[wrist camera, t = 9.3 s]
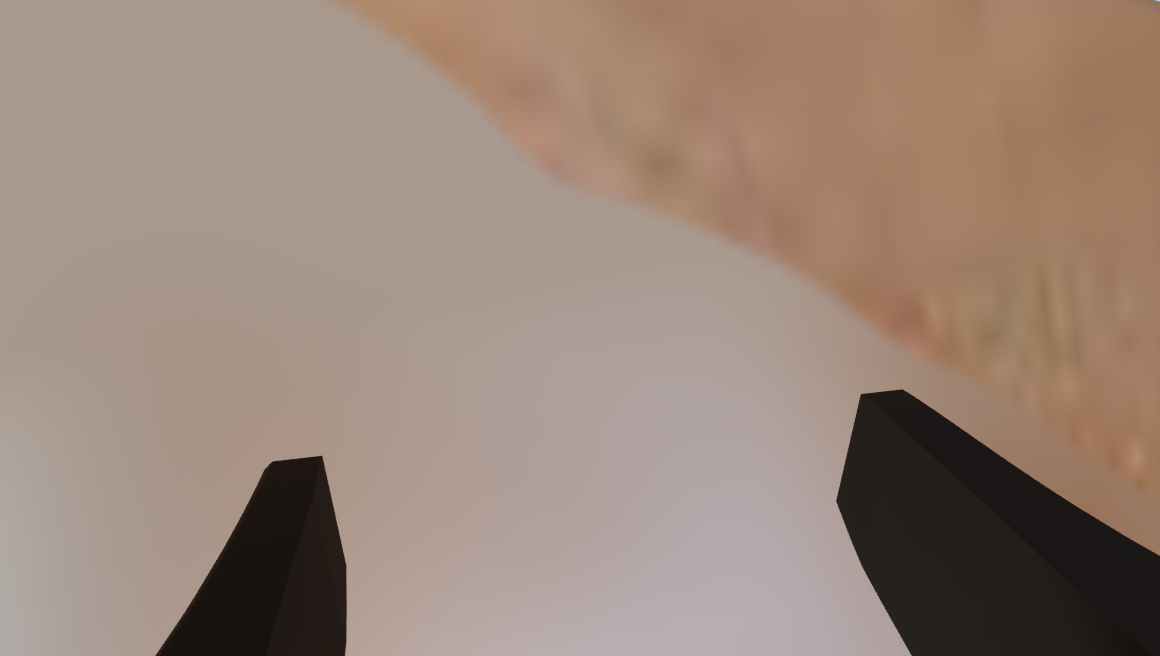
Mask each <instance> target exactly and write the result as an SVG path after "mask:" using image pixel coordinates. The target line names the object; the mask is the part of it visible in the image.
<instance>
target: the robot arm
mask: <svg viewBox="0 0 1160 656" xmlns="http://www.w3.org/2000/svg"><path fill="white" fill-rule="evenodd" d="M1156 1H1159V2H1160V0H1156ZM836 502H837V504H838V507H839V510H840V512H841V515H842V518H843V520H844V523H845V525H846V528H847V531H848V533H849V536H850V538H851V541H852V543H853V546H854V548H855V550H856V553H857V555H858V557H859V560H860V562H861V565H862V567H863V569H864V571H865V573H866V575H867V576H868V578H869V580H870V582H871V584H872V586H873V587H874V589H875V591H876V592H877V595H878V596H879V598H880V600H881V602H882V604H883V605H884V607H885V609H886V611H887V613H888V614H889V616H890V618H891V619H892V621H893V623H894V625H895V627H896V629H897V630H898V632H899V634H900V636H901V637H902V639H903V641H904V643H905V645H906V646H907V648H908V650H909V652H910V653H911V655H912V656H1160V556H1159V555H1157V554H1155V553H1154V552H1152V551H1150V550H1148V549H1147V548H1145V547H1143V546H1141V545H1139V544H1137V543H1136V542H1134V541H1133V540H1131V539H1129V538H1127V537H1126V536H1124V535H1122V534H1121V533H1119V532H1117V531H1116V530H1114V529H1113V528H1111V527H1109V526H1108V525H1106V524H1104V523H1103V522H1101V521H1099V520H1098V519H1096V518H1094V517H1093V516H1091V515H1090V514H1088V513H1086V512H1085V511H1083V510H1081V509H1080V508H1078V507H1076V506H1075V505H1073V504H1072V503H1070V502H1069V501H1067V500H1065V499H1064V498H1062V497H1061V496H1059V495H1058V494H1056V493H1055V492H1053V491H1052V490H1050V489H1049V488H1047V487H1045V486H1044V485H1043V484H1041V483H1039V482H1038V481H1036V480H1035V479H1033V478H1032V477H1030V476H1029V475H1028V474H1026V473H1024V472H1023V471H1022V470H1020V469H1019V468H1017V467H1016V466H1014V465H1013V464H1011V463H1010V462H1008V461H1007V460H1005V459H1004V458H1003V457H1001V456H1000V455H998V454H997V453H995V452H994V451H992V450H991V449H989V448H988V447H986V446H985V445H984V444H982V443H981V442H979V441H978V440H977V439H975V438H974V437H972V436H971V435H969V434H968V433H967V432H965V431H964V430H962V429H961V428H959V427H958V426H956V425H955V424H954V423H952V422H951V421H949V420H948V419H946V418H945V417H943V416H942V415H941V414H939V413H938V412H936V411H935V410H933V409H932V408H930V407H929V406H927V405H926V404H924V403H923V402H921V401H920V400H918V399H917V398H915V397H914V396H912V395H910V394H909V393H908V392H906V391H904V390H893V391H884V392H876V393H867V394H861V396H860V400H859V405H858V409H857V414H856V418H855V422H854V427H853V431H852V435H851V440H850V444H849V448H848V452H847V457H846V461H845V465H844V470H843V474H842V478H841V483H840V487H839V491H838V496H837V500H836ZM346 597H347V596H346V563H345V558H344V553H343V549H342V544H341V539H340V535H339V530H338V526H337V521H336V517H335V512H334V507H333V503H332V498H331V494H330V489H329V485H328V480H327V475H326V471H325V466H324V462H323V457H322V456H318V457H309V458H299V459H290V460H282V461H273V462H271V463H270V465H269V466H268V467H267V468H266V469H265V470H264V472H263V474H262V476H261V478H260V481H259V483H258V485H257V487H256V489H255V491H254V493H253V495H252V497H251V499H250V501H249V503H248V504H247V506H246V508H245V510H244V512H243V514H242V516H241V518H240V520H239V522H238V523H237V525H236V527H235V529H234V531H233V532H232V534H231V536H230V538H229V540H228V541H227V543H226V545H225V547H224V549H223V550H222V552H221V554H220V555H219V557H218V559H217V560H216V562H215V564H214V565H213V567H212V569H211V570H210V572H209V574H208V576H207V577H206V579H205V580H204V582H203V584H202V585H201V587H200V589H199V590H198V592H197V594H196V596H195V597H194V599H193V600H192V602H191V603H190V605H189V607H188V608H187V610H186V611H185V613H184V614H183V616H182V617H181V619H180V620H179V622H178V623H177V625H176V626H175V628H174V629H173V631H172V632H171V634H170V635H169V637H168V638H167V640H166V641H165V643H164V644H163V646H162V647H161V649H160V650H159V651H158V653H157V654H156V656H345V649H346V618H347V617H346V616H347V613H346V611H347V610H346V609H347V608H346V607H347V604H346V603H347V599H346Z"/></svg>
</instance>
